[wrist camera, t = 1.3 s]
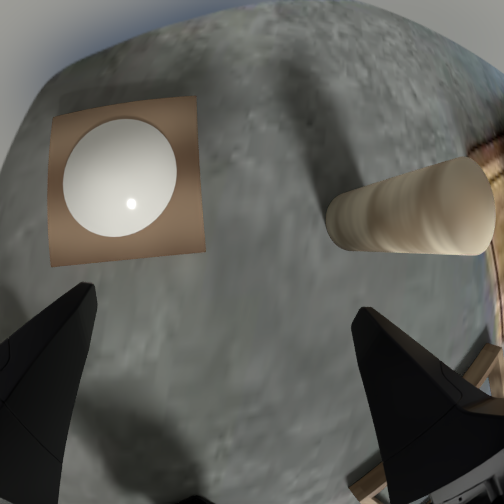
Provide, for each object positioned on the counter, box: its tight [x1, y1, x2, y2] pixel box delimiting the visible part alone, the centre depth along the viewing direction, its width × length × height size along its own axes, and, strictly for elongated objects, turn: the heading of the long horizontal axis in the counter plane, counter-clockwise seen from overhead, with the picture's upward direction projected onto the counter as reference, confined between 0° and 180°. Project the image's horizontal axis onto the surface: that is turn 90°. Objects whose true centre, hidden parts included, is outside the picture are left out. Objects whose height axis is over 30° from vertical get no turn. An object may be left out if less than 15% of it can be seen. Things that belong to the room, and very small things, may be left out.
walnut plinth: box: [47, 96, 206, 267], centre depth 19 cm, size 11×11×3 cm
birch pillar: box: [326, 157, 496, 255], centre depth 18 cm, size 5×5×13 cm
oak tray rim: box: [349, 343, 504, 504], centre depth 28 cm, size 26×26×3 cm
